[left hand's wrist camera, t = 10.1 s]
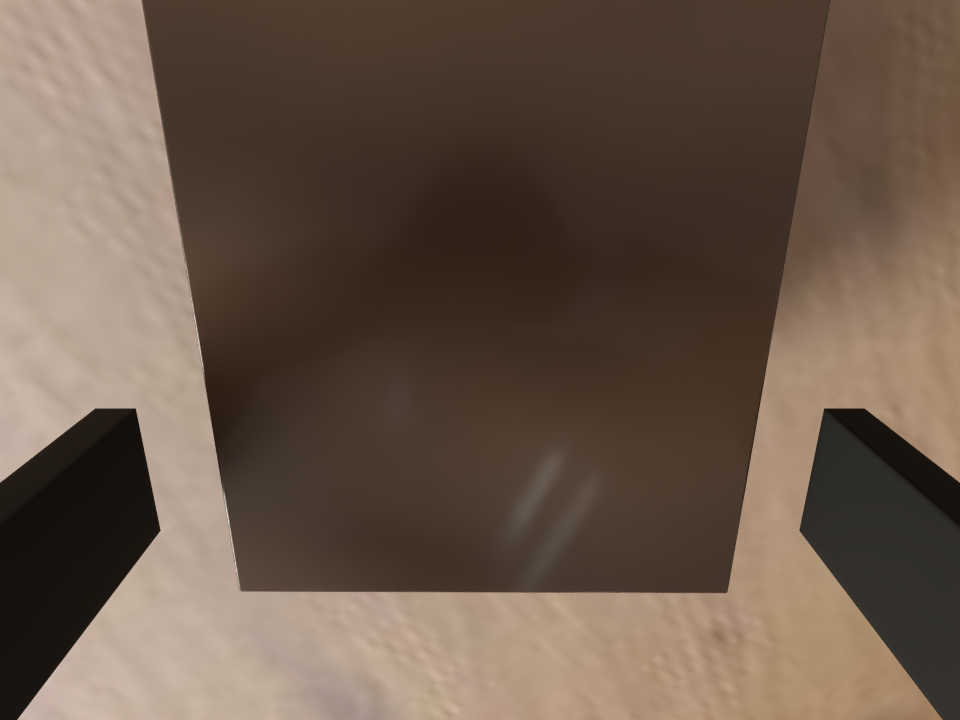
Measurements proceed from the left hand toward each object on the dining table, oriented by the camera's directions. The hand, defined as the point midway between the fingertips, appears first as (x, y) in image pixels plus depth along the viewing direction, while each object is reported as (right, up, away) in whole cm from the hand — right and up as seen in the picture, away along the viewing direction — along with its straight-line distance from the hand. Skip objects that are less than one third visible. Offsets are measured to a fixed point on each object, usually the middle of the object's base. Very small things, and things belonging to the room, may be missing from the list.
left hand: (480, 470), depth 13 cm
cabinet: (0, +9, +7) cm, 11 cm away
